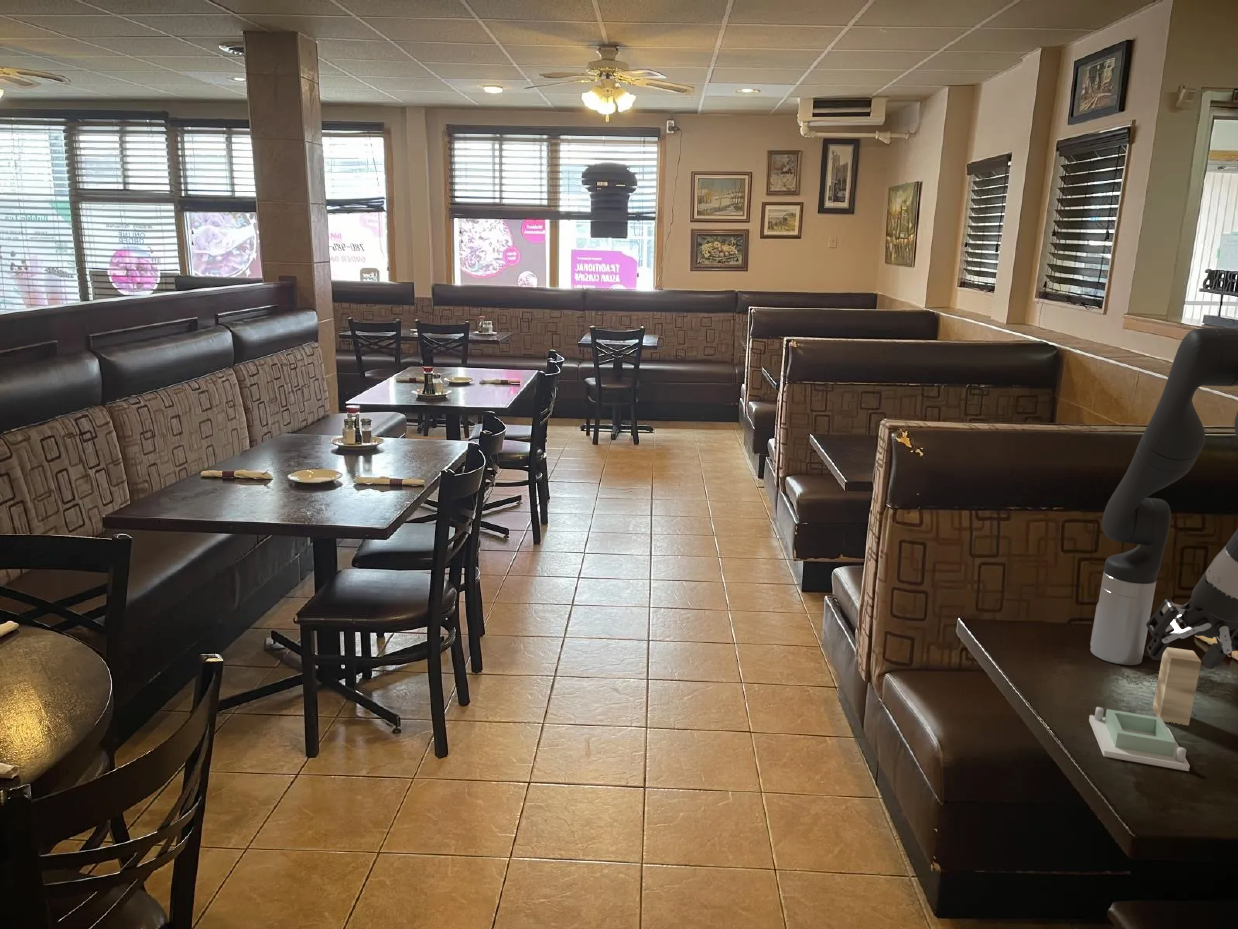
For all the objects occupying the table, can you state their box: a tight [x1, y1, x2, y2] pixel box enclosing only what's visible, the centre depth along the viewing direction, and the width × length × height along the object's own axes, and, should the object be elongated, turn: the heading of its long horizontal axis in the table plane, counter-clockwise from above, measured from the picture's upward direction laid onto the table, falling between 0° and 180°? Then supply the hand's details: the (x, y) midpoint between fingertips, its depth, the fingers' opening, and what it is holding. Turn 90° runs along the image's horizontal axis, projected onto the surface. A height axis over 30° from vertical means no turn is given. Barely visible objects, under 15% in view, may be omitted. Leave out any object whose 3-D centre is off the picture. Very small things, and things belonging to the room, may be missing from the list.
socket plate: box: [1088, 706, 1191, 772], centre depth 144 cm, size 12×12×4 cm
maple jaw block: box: [1152, 646, 1202, 726], centre depth 153 cm, size 4×4×12 cm
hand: (1179, 660), depth 136 cm, fingers open, 8 cm apart
